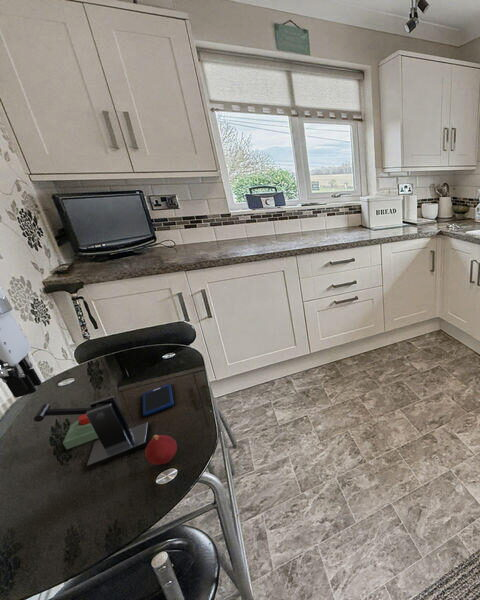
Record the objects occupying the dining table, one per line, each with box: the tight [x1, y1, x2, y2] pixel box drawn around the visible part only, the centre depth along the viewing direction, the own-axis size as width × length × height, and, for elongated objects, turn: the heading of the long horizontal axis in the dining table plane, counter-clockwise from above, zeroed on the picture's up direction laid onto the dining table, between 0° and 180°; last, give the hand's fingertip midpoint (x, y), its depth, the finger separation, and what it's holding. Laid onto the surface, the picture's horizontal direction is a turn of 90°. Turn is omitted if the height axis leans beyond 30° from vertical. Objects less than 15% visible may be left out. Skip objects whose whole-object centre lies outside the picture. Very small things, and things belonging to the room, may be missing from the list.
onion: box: [144, 434, 178, 466], centre depth 73 cm, size 6×6×8 cm
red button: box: [77, 414, 90, 425], centre depth 86 cm, size 4×4×2 cm
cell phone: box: [142, 383, 175, 417], centre depth 98 cm, size 7×14×1 cm, turn 38°
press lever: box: [33, 403, 112, 423], centre depth 74 cm, size 12×5×2 cm, turn 122°
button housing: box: [62, 419, 99, 450], centre depth 87 cm, size 10×8×4 cm
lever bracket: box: [86, 395, 150, 470], centre depth 79 cm, size 11×9×13 cm
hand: (28, 390), depth 69 cm, fingers closed
